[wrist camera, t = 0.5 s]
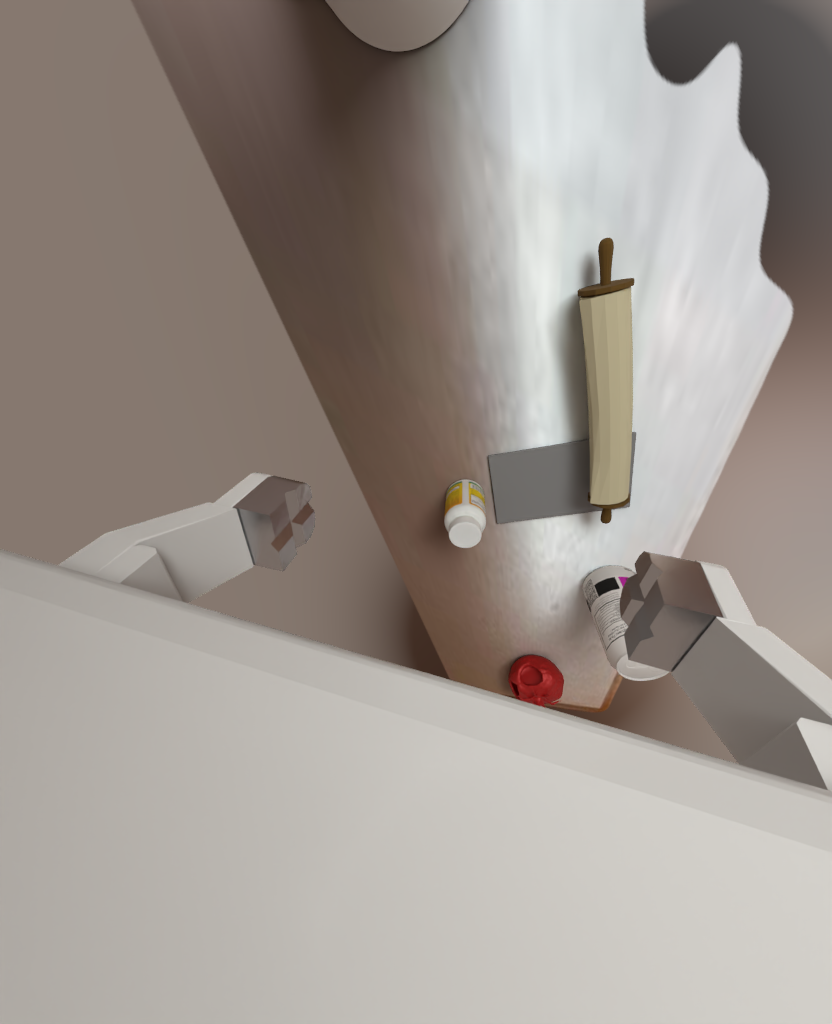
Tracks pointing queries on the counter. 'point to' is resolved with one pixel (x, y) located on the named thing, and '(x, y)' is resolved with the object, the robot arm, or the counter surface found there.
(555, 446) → the mat
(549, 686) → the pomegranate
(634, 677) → the supplement can
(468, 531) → the supplement bottle
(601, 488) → the rolling pin
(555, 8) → the counter surface
